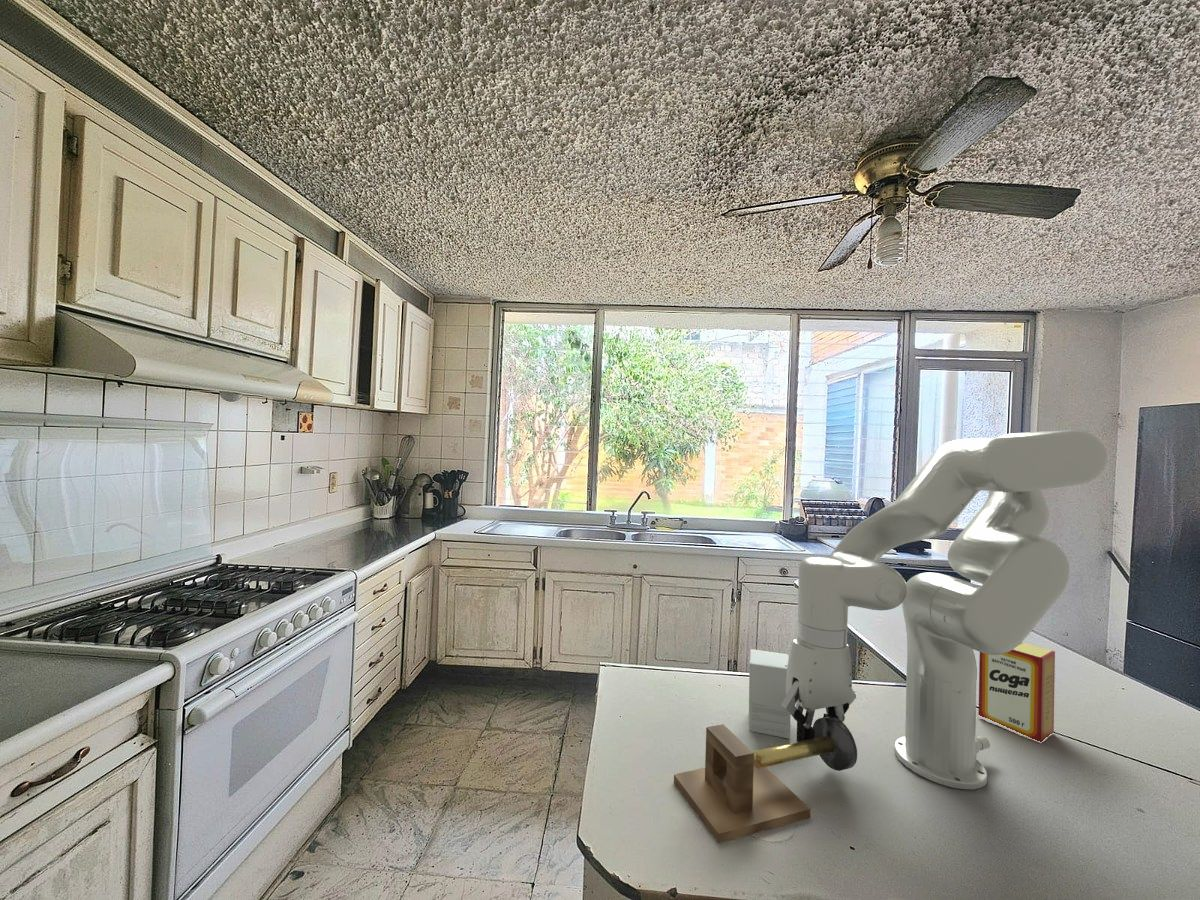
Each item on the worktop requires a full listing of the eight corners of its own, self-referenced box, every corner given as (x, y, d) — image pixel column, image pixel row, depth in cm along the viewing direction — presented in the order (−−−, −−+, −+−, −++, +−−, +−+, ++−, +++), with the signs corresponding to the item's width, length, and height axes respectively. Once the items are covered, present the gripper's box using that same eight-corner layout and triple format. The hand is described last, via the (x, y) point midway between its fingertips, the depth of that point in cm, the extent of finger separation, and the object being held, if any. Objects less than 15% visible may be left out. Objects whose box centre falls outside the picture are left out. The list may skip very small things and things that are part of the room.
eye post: (755, 764, 77) (756, 708, 78) (810, 817, 66) (811, 752, 66) (673, 782, 72) (675, 723, 73) (718, 843, 61) (720, 773, 61)
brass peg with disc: (824, 750, 79) (826, 706, 79) (861, 777, 72) (862, 730, 73) (740, 768, 74) (742, 722, 74) (772, 800, 67) (773, 749, 67)
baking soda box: (1053, 734, 89) (1055, 649, 90) (1040, 744, 86) (1042, 655, 86) (992, 710, 97) (993, 632, 98) (978, 718, 94) (979, 638, 94)
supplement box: (788, 719, 91) (789, 653, 92) (790, 740, 84) (792, 669, 85) (748, 711, 94) (750, 647, 94) (747, 731, 87) (749, 662, 87)
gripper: (842, 622, 84) (839, 725, 84) (764, 630, 79) (760, 740, 78) (880, 638, 77) (877, 750, 77) (796, 648, 72) (793, 769, 71)
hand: (818, 744), depth 78 cm, fingers closed on brass peg with disc, 4 cm apart
